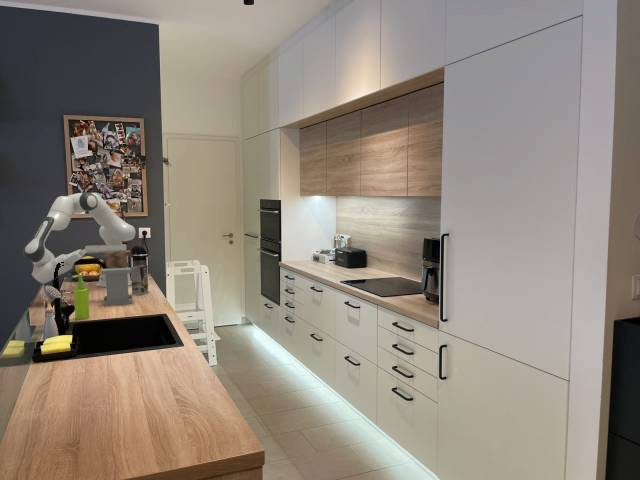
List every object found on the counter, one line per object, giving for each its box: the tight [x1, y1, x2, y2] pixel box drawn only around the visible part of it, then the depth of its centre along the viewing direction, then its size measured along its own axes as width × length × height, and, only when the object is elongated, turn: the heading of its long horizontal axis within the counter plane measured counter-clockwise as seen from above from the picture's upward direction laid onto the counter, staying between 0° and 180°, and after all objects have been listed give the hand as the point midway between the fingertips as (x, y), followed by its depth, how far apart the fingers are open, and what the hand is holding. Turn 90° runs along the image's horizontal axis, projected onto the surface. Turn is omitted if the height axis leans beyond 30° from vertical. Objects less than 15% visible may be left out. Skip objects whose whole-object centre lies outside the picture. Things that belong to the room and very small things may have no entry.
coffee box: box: [130, 264, 149, 296], centre depth 286 cm, size 9×6×16 cm
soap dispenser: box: [71, 274, 90, 320], centre depth 229 cm, size 6×7×20 cm
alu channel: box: [84, 243, 128, 254], centre depth 267 cm, size 20×4×4 cm, turn 111°
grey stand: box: [100, 267, 133, 307], centre depth 260 cm, size 14×8×18 cm, turn 110°
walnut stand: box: [101, 249, 133, 300], centre depth 270 cm, size 14×8×26 cm, turn 110°
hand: (89, 248), depth 264 cm, fingers closed on alu channel, 4 cm apart
